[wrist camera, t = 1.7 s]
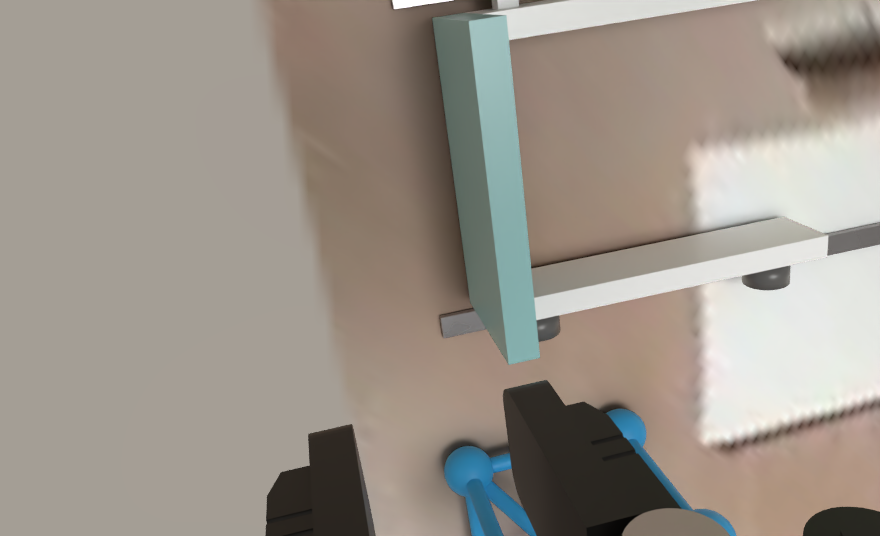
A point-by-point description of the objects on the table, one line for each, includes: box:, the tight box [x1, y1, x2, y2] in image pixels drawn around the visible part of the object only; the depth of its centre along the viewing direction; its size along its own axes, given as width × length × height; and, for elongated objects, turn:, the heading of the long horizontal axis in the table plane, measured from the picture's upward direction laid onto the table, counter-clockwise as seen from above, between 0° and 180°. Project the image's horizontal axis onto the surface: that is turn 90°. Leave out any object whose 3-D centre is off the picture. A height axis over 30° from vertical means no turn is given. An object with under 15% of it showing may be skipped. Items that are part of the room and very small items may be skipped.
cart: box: [432, 0, 828, 365], centre depth 28 cm, size 15×15×6 cm
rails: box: [392, 0, 880, 338], centre depth 32 cm, size 15×32×1 cm, turn 98°
